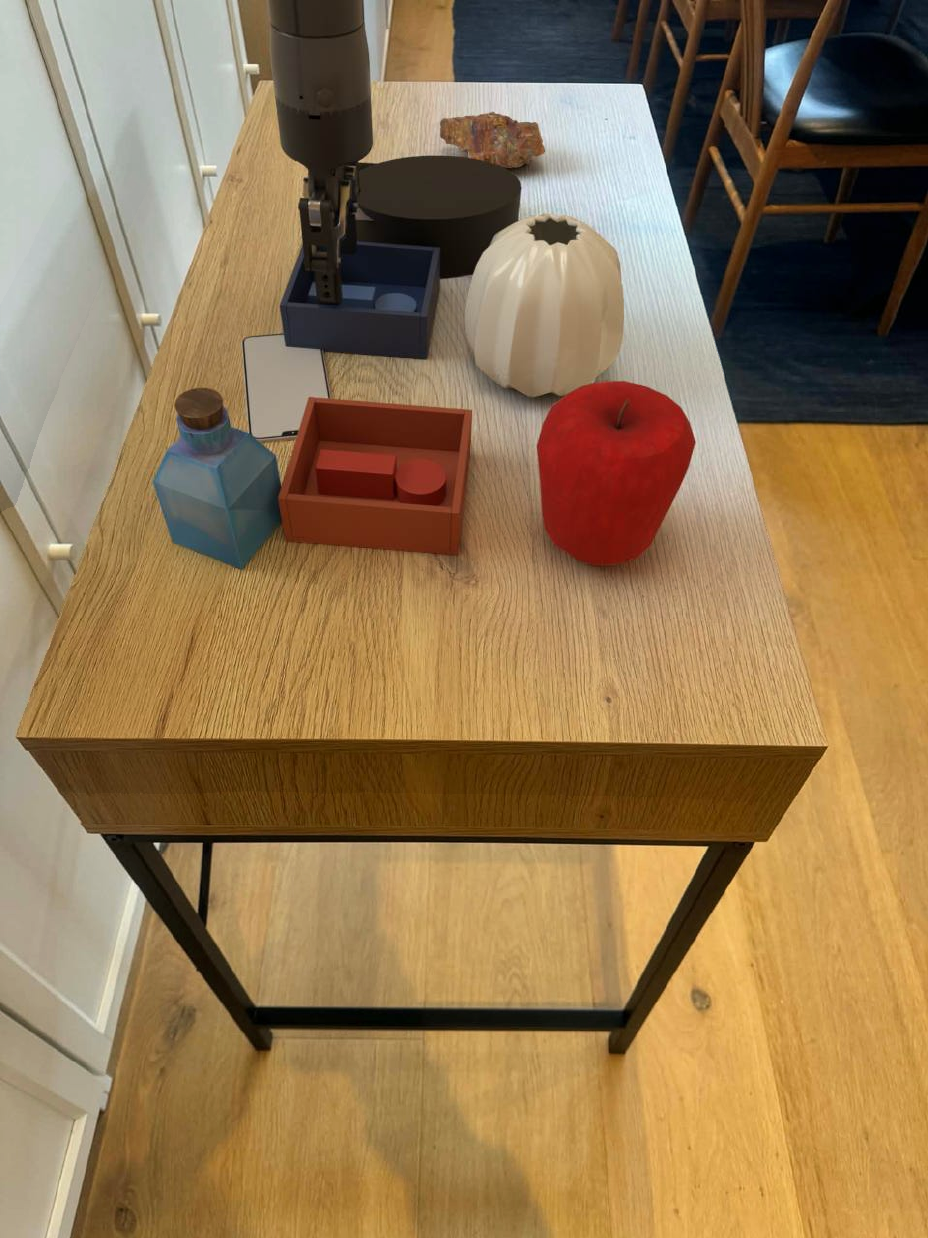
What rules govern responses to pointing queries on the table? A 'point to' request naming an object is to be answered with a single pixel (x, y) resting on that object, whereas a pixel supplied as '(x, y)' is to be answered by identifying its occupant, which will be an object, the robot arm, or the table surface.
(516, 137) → the mineral specimen
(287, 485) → the terracotta bin
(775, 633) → the table surface
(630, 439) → the apple
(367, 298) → the blue spoon
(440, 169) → the black oval cylinder
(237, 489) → the perfume bottle
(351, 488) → the red spoon
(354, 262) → the navy bin
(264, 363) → the smartphone
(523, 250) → the vase
